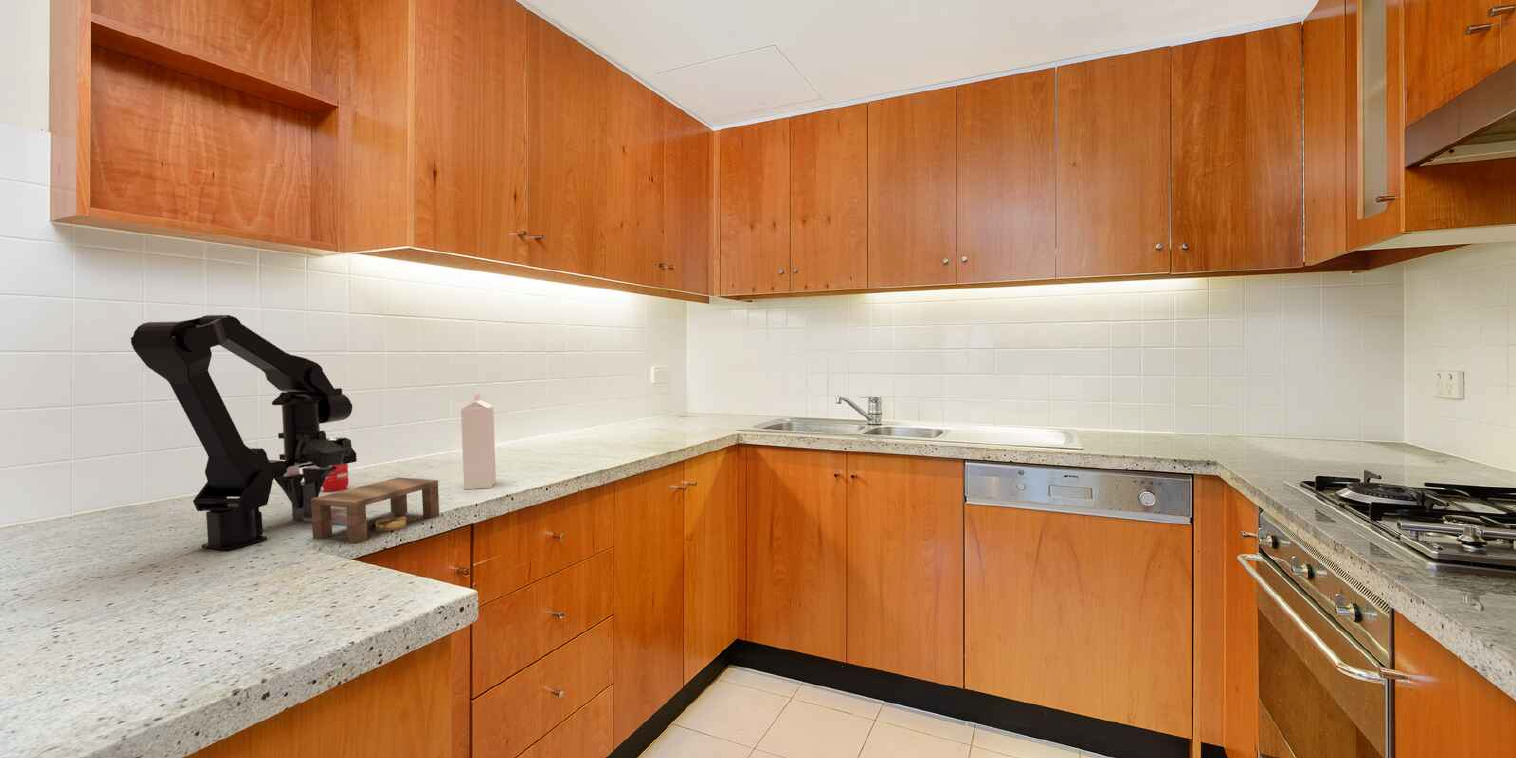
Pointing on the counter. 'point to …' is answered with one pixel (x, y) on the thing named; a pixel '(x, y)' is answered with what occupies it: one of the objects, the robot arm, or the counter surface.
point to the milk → (478, 444)
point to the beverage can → (336, 477)
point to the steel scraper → (306, 515)
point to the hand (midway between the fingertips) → (305, 506)
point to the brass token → (390, 523)
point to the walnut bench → (367, 495)
